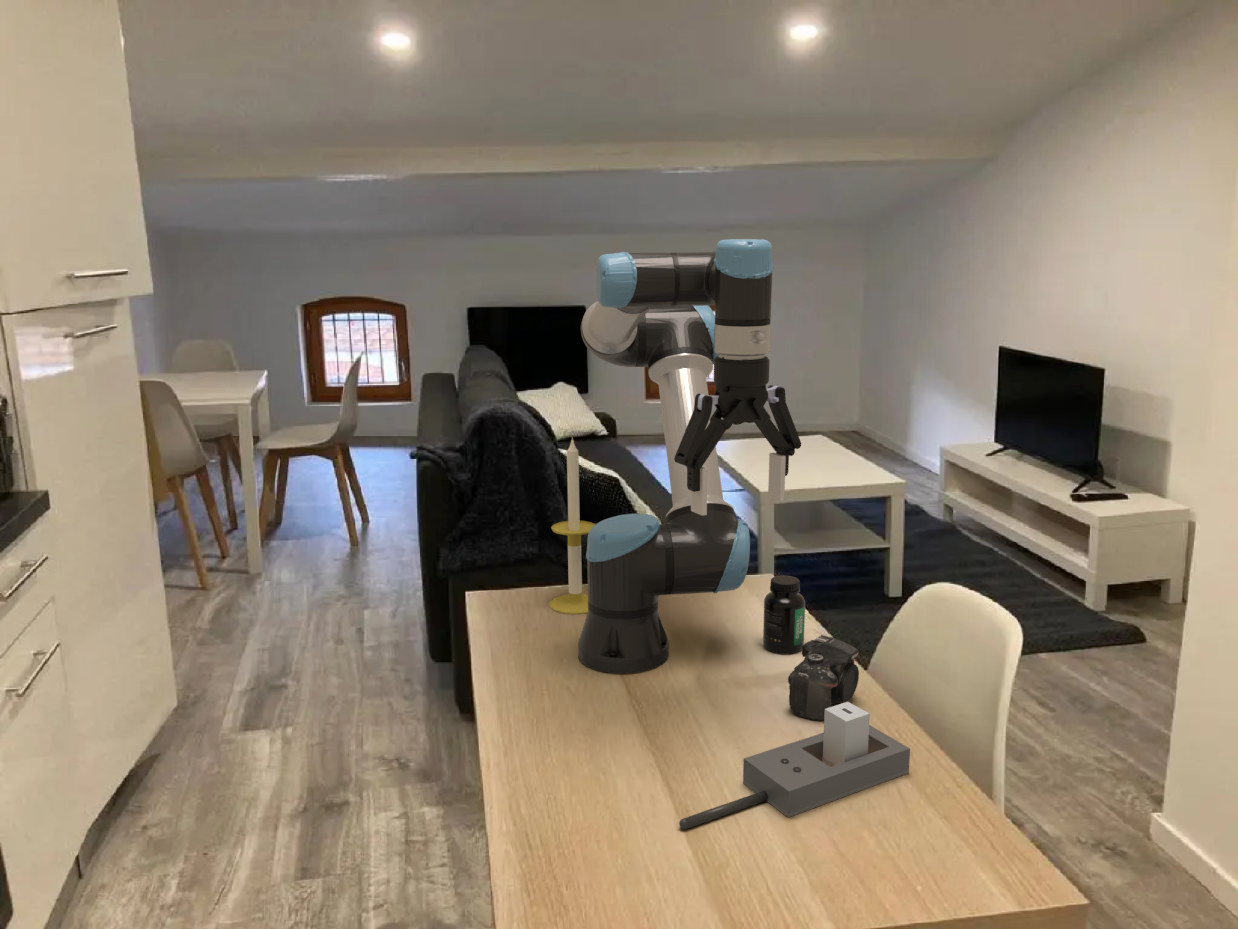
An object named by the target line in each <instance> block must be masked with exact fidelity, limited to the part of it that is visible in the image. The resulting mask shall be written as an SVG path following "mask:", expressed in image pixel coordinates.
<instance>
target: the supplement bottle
mask: <svg viewBox="0 0 1238 929" xmlns="http://www.w3.org/2000/svg"><path fill="white" fill-rule="evenodd" d="M800 583H801V581H800V579H799V578H798V577H796V576H792V575H785V574H784V575H776V576H773V577H771V578H770V586H769V591H770V592H768V593H767V594H766V595H765V597H764V600H763V628H762V629H763V630H762V633H763V634H762V644H763V647H764V649H765V650H767V651H769V652H771V653H775V654H779V655H793V654H796V653H799V652H800V651H802V646H803V645H804V644H805V622H806V621H805V620H806V619H805V618H806V617H805V616H806V600H805V598H804V596H803V595H802V594H801V593H800V592H801V588H800V587H801V584H800Z"/></svg>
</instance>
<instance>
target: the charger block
mask: <svg viewBox="0 0 1238 929" xmlns="http://www.w3.org/2000/svg"><path fill="white" fill-rule="evenodd" d="M870 714H871V713H870V712H867V711H866V710H863V709H862V708H861V707H859V706H856V705H855V704H853V703H851V702H850V701H847V702H843V703H842V702H841V703H840V704H839V703H838V704H836V705H834V706H833V705H832V706H831V707H829V708H826V709H825V714H824V721H823V733H824V739H823V757H822V761H823V763H825V764H826V765H828V766H829V767H833V766H836V765H838V764H841V763H844V762H847V761H850V760H853V759H856V758H859V757H861V756H864V755H867V754H868V738H869V725H870V717H871V715H870Z"/></svg>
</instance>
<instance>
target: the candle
mask: <svg viewBox="0 0 1238 929" xmlns="http://www.w3.org/2000/svg"><path fill="white" fill-rule="evenodd" d="M579 460H580V459H579V449H577V446H576V445H575V440H574V438H573V436H572V437H571V440H570V444H569V447H568V449H567V450H566V472H567V473H566V479H567V520H565V521H560V522H557V523H554V524H552V526H551V527H550V528H551V530H552V532H553V533H555V534H557V535H561V536H562V535H563V536H567V561H568V562H567V564H568V565H567V566H568V567H567V568H568V569H567V572H568V574H567V575H568V594H564V595H559V596H557V597H555V598H553V599H551V600H550V602H549V608H550V609H551V610H552V611H554V612H556V613H560V614H563V615H564V614H565V615H582V614H588V593H587V594H585V593H583V576H582V575H583V574H582V573H583V571H582V536H584V535H588V534H589V531H590V530H591V528H592V527H593V526H594V525H596V523H593V522H590V521H586V520H580V518H581V517H580V513H581V512H580V473H579V472H580V466H579V464H580V462H579Z"/></svg>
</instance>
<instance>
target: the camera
mask: <svg viewBox="0 0 1238 929" xmlns="http://www.w3.org/2000/svg"><path fill="white" fill-rule="evenodd" d="M859 651H860V650H859V649H858V648H856V647H854V646H853V645H851V644H849V643H847V642H846V641H843V640H841V639H838V638H834V637H833V636H830V635H827V634H825V633H824V634H823V633H821V634H820V635H819V636H818V637H816V638H815V639H811V640H810V641H807V642H804V645H803V646H802V650H801V655H802V657H803V658H804V659H803V661H801V662H800V663H798V665H796V666H794V669H793V670H792V671H791V672H790V673H789V674H788V677H787V682H788V684H789V685H788V687H789V689H788V690H789V696H788V698H789V700H788V704H789V705H788V706H789V707H790V710H791V712H792V713H793V714H794V715H795V716H797V717H799V718H802V719H803V718H804V719H806V720H810V721H815V722H816V721H817V722H824V714H825V709H826V708H829V707H832V705H833V704H836V705H839V703H840V704H841V703H842V702H843V703H845V702H850V700H851V699H852V697H853V696H854V694H855V692H856V691H857V687H858V684H859V677H860V670H859V667H858V665H857V664H855V658H857V657H858V656H859Z"/></svg>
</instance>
